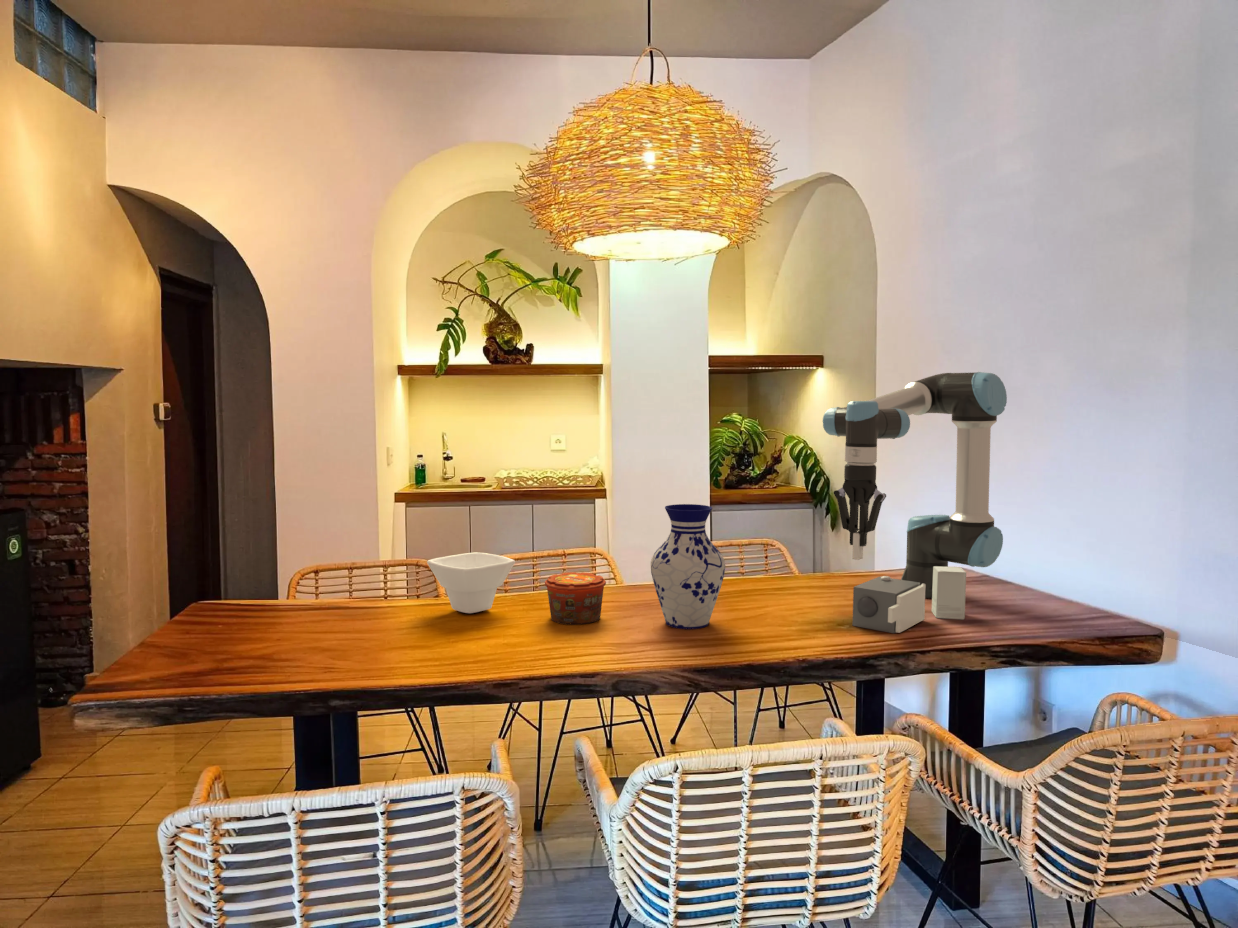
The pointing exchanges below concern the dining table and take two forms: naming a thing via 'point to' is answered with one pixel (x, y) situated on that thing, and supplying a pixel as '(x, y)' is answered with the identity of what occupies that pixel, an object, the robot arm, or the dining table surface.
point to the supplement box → (948, 592)
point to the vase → (687, 569)
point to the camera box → (878, 602)
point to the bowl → (471, 578)
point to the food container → (575, 597)
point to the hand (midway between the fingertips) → (857, 558)
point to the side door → (908, 608)
